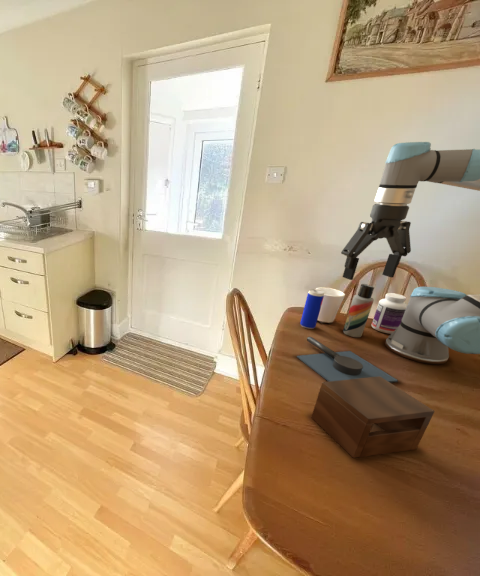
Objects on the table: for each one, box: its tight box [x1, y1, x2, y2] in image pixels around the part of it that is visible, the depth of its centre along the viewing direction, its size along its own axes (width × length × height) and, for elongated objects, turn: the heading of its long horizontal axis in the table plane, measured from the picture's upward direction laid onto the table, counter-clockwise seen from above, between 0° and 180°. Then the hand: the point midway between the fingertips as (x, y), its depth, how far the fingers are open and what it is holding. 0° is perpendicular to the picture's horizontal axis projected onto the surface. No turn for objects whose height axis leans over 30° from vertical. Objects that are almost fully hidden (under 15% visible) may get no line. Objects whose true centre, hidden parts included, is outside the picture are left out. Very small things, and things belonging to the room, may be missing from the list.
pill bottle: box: [370, 292, 408, 335], centre depth 119 cm, size 8×8×14 cm
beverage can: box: [299, 288, 324, 330], centre depth 122 cm, size 5×5×15 cm
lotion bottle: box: [342, 283, 375, 338], centre depth 115 cm, size 6×6×20 cm
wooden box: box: [310, 376, 436, 459], centre depth 73 cm, size 16×12×11 cm
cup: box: [314, 287, 346, 324], centre depth 127 cm, size 10×10×13 cm
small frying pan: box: [306, 336, 363, 376], centre depth 103 cm, size 7×20×3 cm, turn 8°
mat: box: [296, 350, 399, 384], centre depth 98 cm, size 20×16×1 cm
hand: (367, 277), depth 93 cm, fingers open, 13 cm apart
